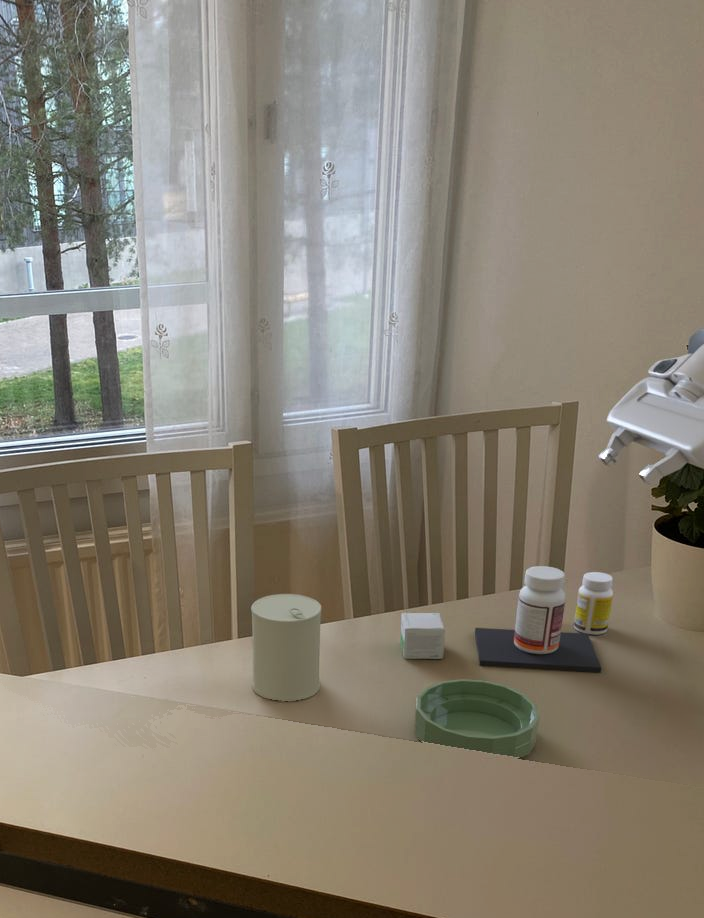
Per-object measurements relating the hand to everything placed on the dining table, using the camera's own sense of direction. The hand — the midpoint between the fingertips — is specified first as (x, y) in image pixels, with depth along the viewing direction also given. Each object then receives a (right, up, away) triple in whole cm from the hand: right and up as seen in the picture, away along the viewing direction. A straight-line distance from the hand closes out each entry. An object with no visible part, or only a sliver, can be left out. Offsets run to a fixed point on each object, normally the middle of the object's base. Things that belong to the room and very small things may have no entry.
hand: (623, 471), depth 115 cm
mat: (-6, -23, +15) cm, 28 cm away
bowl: (-21, -33, -5) cm, 39 cm away
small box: (-22, -23, +16) cm, 36 cm away
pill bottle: (-6, -22, +15) cm, 28 cm away
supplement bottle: (+4, -20, +21) cm, 30 cm away
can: (-42, -28, +8) cm, 51 cm away
